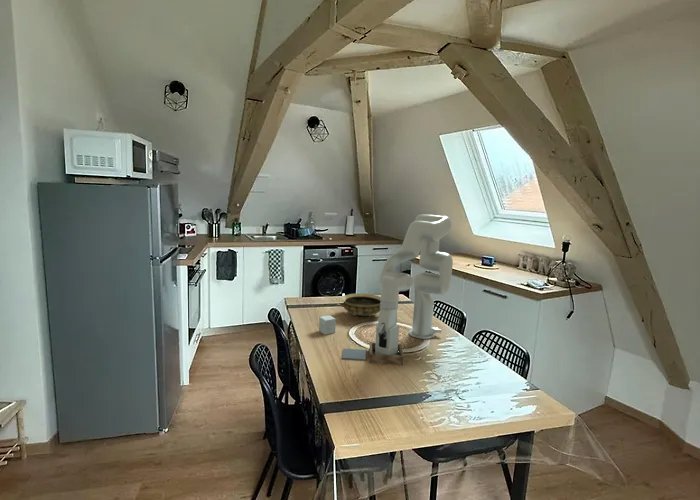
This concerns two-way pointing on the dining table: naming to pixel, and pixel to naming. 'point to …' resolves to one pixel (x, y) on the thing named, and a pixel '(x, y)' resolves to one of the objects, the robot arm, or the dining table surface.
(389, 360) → the wooden square frame
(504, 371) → the dining table surface
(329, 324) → the product box
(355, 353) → the pad
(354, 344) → the dining table surface
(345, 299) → the ceramic bowl
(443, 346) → the dining table surface
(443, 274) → the robot arm
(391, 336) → the supplement box
